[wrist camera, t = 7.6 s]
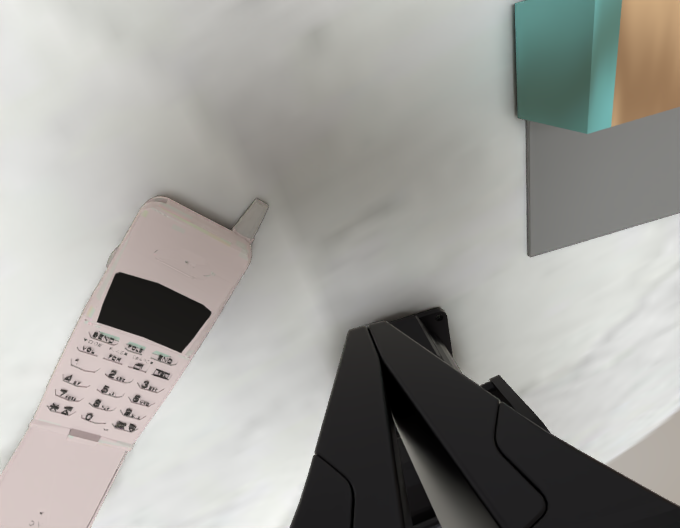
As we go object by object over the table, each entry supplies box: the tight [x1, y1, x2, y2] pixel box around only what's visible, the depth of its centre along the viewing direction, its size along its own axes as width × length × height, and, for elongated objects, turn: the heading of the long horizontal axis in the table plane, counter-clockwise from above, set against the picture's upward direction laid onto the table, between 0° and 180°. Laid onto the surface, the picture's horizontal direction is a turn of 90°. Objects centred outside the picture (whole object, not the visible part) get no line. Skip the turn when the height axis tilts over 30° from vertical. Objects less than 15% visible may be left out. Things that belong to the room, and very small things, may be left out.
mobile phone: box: [0, 196, 268, 528], centre depth 21 cm, size 6×6×25 cm
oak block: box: [515, 0, 680, 134], centre depth 17 cm, size 5×5×10 cm
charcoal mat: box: [526, 107, 680, 257], centre depth 20 cm, size 20×13×1 cm, turn 14°
